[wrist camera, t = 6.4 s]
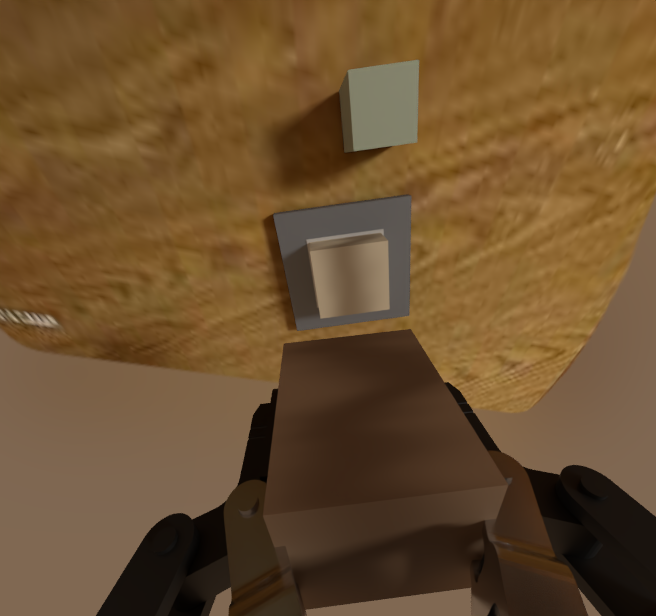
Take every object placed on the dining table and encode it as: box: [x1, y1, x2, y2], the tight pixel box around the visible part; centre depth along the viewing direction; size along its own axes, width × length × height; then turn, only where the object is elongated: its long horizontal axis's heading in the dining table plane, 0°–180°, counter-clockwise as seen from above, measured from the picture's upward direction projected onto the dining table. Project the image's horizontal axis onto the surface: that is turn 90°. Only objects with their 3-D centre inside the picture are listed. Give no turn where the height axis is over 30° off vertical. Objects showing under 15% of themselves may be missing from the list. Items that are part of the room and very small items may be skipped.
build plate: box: [273, 195, 411, 331], centre depth 30 cm, size 13×13×1 cm
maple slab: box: [310, 233, 390, 319], centre depth 28 cm, size 7×7×3 cm
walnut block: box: [263, 329, 508, 610], centre depth 9 cm, size 5×5×6 cm
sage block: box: [339, 60, 419, 153], centre depth 21 cm, size 4×4×6 cm
